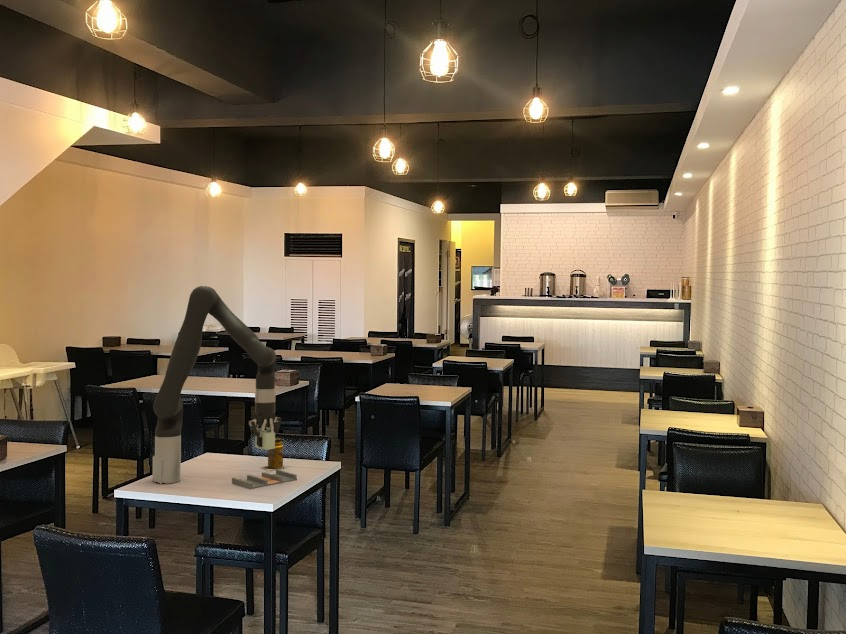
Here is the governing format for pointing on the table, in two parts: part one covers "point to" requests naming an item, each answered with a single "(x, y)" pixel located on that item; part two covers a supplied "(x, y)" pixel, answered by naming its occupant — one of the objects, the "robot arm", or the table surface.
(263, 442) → the plug
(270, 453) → the condiment
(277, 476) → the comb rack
